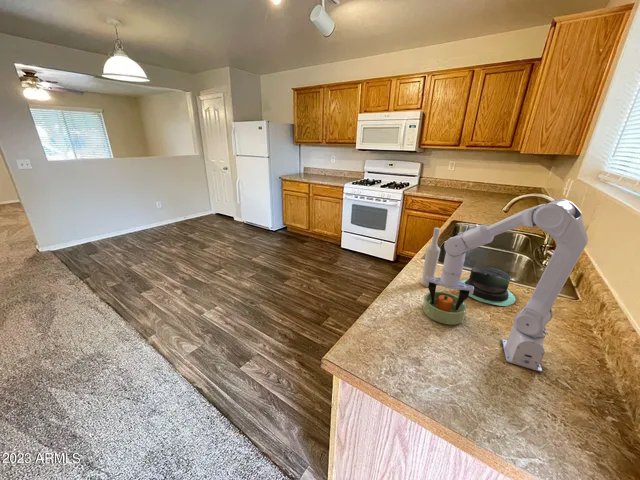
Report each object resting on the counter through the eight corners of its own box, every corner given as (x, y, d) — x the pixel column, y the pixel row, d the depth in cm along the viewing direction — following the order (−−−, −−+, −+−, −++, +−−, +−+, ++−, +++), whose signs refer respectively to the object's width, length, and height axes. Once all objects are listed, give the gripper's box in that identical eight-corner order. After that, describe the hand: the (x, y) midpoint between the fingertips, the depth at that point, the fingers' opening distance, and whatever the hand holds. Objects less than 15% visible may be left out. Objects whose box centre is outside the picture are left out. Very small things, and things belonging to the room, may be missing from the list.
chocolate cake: (507, 281, 113) (528, 309, 95) (461, 293, 120) (472, 321, 103) (496, 251, 110) (516, 275, 92) (450, 265, 117) (459, 290, 99)
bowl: (463, 330, 85) (467, 318, 83) (420, 318, 90) (422, 306, 88) (463, 308, 96) (466, 297, 94) (424, 299, 101) (426, 288, 99)
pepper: (449, 317, 90) (453, 301, 88) (435, 313, 92) (438, 297, 89) (449, 310, 94) (453, 294, 91) (436, 306, 96) (439, 290, 93)
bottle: (420, 286, 110) (430, 229, 101) (420, 280, 115) (429, 225, 106) (433, 288, 109) (445, 231, 100) (432, 282, 113) (443, 227, 104)
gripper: (476, 270, 87) (467, 305, 92) (429, 261, 93) (423, 294, 98) (477, 279, 81) (468, 316, 86) (427, 269, 87) (421, 304, 92)
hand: (444, 305), depth 92 cm, fingers open, 7 cm apart
